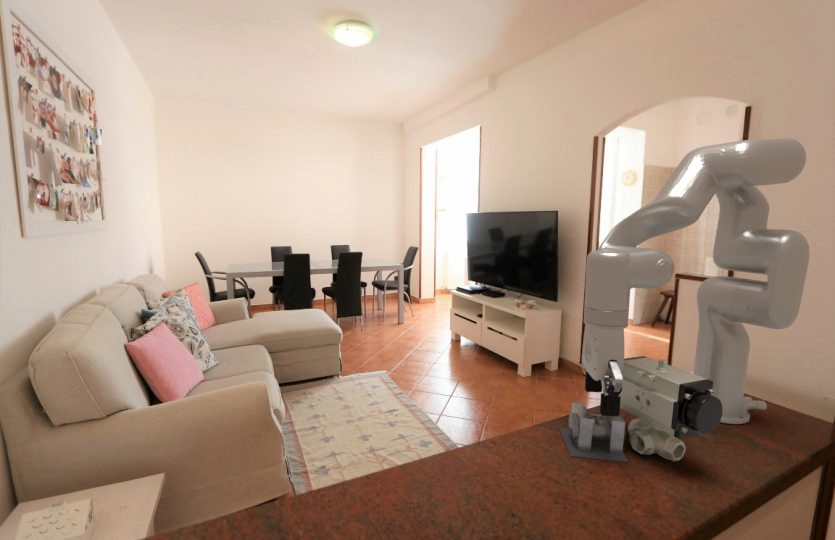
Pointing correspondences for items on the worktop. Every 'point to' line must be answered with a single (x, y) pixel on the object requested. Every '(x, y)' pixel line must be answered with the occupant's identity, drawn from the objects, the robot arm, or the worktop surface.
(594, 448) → the joint mat
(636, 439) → the ball valve
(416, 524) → the worktop surface
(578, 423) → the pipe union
